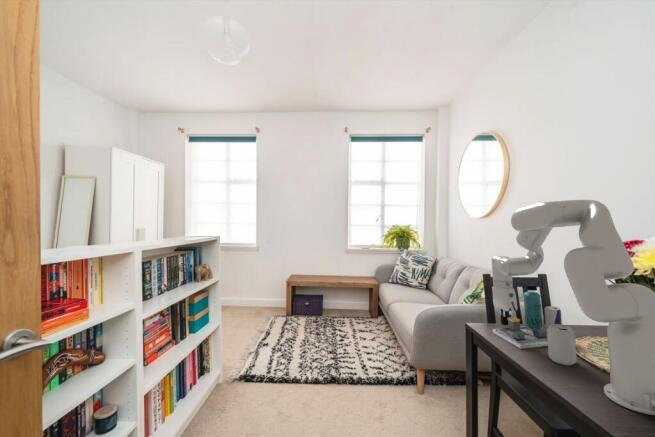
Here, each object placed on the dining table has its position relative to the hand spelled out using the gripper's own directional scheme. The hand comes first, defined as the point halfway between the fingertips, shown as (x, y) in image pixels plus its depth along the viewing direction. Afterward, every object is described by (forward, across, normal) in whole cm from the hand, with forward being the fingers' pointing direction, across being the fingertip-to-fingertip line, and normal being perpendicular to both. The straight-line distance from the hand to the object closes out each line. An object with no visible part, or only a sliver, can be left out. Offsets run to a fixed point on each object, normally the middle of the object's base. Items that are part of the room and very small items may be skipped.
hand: (505, 324), depth 127 cm
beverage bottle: (+3, -2, -12) cm, 12 cm away
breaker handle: (+1, -5, 0) cm, 5 cm away
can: (+3, -28, 0) cm, 29 cm away
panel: (+3, -9, 0) cm, 10 cm away
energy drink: (+3, -11, -13) cm, 17 cm away
